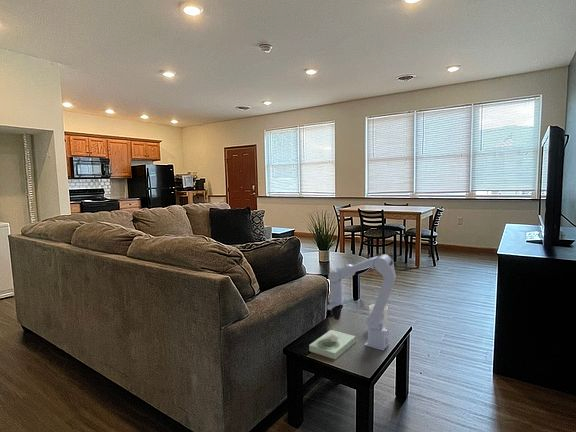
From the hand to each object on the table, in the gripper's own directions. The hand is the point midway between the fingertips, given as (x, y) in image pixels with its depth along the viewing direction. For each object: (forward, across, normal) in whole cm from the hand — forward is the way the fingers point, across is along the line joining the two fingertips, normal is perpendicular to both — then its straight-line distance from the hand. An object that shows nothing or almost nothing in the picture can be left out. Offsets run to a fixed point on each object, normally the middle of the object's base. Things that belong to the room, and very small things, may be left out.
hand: (336, 319), depth 173 cm
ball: (+4, +11, +5) cm, 13 cm away
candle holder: (+10, -21, +14) cm, 27 cm away
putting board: (+10, +10, +3) cm, 14 cm away
